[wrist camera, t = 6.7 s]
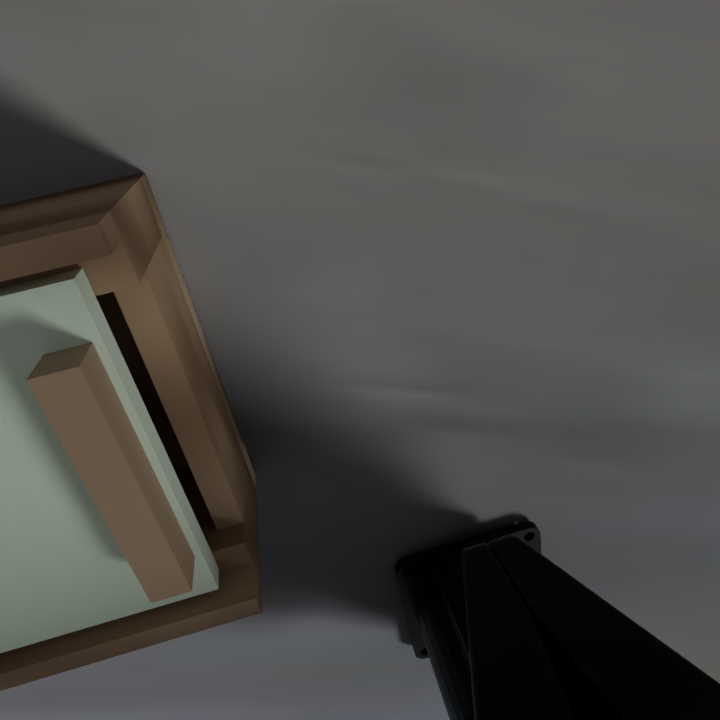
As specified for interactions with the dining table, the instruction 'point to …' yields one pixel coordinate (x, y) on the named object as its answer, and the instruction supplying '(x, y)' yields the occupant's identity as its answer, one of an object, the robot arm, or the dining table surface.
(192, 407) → the walnut box
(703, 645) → the dining table surface
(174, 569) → the lid
